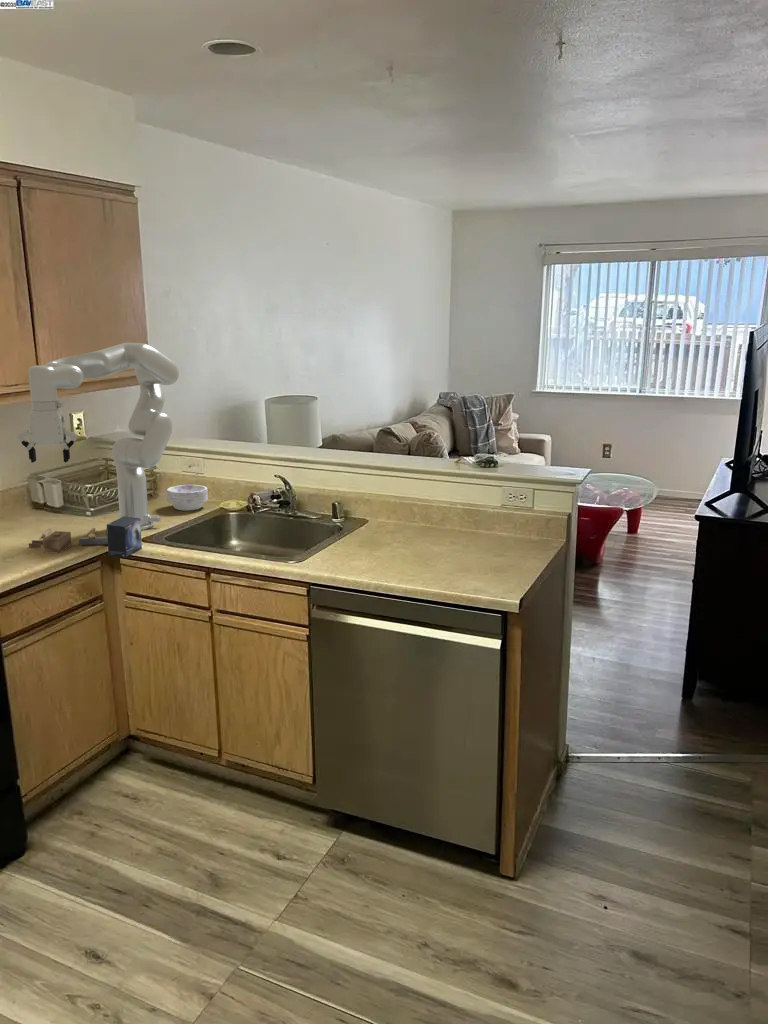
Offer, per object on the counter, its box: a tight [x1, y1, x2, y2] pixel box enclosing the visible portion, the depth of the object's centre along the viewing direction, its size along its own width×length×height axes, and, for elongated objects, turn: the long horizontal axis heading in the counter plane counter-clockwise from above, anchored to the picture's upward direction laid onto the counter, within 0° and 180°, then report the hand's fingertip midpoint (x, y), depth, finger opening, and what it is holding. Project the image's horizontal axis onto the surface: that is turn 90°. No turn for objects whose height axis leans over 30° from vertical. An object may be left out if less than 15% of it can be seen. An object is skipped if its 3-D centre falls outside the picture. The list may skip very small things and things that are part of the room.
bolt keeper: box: [28, 539, 43, 548], centre depth 253 cm, size 4×4×1 cm
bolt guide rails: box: [42, 527, 97, 539], centre depth 265 cm, size 16×7×1 cm, turn 98°
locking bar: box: [78, 533, 108, 546], centre depth 255 cm, size 12×2×3 cm, turn 98°
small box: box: [106, 516, 143, 559], centre depth 247 cm, size 11×6×10 cm, turn 168°
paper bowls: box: [166, 484, 209, 512], centre depth 302 cm, size 15×15×8 cm
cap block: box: [42, 530, 72, 554], centre depth 250 cm, size 5×9×5 cm, turn 178°
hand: (50, 461), depth 243 cm, fingers open, 9 cm apart
